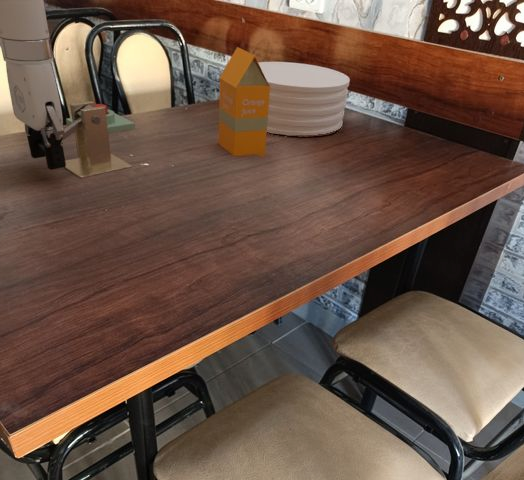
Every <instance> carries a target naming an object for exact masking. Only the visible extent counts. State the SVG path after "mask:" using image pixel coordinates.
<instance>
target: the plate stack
mask: <svg viewBox="0 0 524 480" xmlns="http://www.w3.org/2000/svg"><path fill="white" fill-rule="evenodd" d="M257 62H258V64H259V66H260V68H261V70H262V72H263V74H264V76H265V78H266V80H267V82H268V84H269V86H270V94H269V107H268V123H267V132H270V133H276V134H286V135H318V134H326V133H330V132H333V131H336V130H338V129H340V128H341V127H342V128H343V123H344V121H343V120H344V117H345V109H346V105H347V100H346V99H347V98H348V93H349V90H348V88H349V86H350V81H351V79H350V77H349V76H348V75H347V74H345V73H343V72H341V71H339V70H335V69H331V68H330V67H329V68H328V67H324V66H319V65H315V64H307V63H300V62H288V61H260V62H259V61H257ZM342 128H341V129H342Z"/></svg>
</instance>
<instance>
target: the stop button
mask: <svg viewBox="0 0 524 480" xmlns="http://www.w3.org/2000/svg"><path fill="white" fill-rule="evenodd" d="M94 104H95V107H105V110H106V115H107V114H108V112H107V109H108V106H107V105H106V104H103V103H94Z"/></svg>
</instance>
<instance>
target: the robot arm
mask: <svg viewBox="0 0 524 480" xmlns="http://www.w3.org/2000/svg"><path fill="white" fill-rule="evenodd" d="M46 14H47V13H46V8H45V1H44V0H0V50H1V53H2V58H3V61H4V62H5V69H6V78H7V84H8V90H9V96H10V100H11V106H12V111H13V115H14V117H15V118H16V119H17V120H19V121H20V122H22V123H23V124H24V131H25V132H24V133H25V134H26V137H27V143H28V147H29V151H30V156H31V158H32V159H40V158H45V161H46V162H45V163H46V166H47V169H48V170H49V171H53V170H58V169H63V168H64V167H65V166H66V162H65V161H66V157H65V151H64V146H63V145H64V140H62V139H63V134H64V129H65V128H64V126H63V124H64V118H63V111H62V105H61V100H60V95H59V90H58V86H57V82H56V77H55V73H54V70H53V67H52V63H53V62H54V56H53V50H52V44H51V37H50V31H49V27H48V26H49V25H48V20H47V15H46ZM46 124H50V126H46ZM51 131H52V133H49V134H48V132H51ZM37 140H42V141H44V142H45V145H46V146H44V151H45V152H44V151H43V150H41V149H40V148H38V147H37V146H36V142H37Z"/></svg>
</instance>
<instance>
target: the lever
mask: <svg viewBox="0 0 524 480" xmlns="http://www.w3.org/2000/svg"><path fill="white" fill-rule="evenodd" d="M88 108H94V107H92V106H90V105H87V106H86V107H85V108H83V109H88ZM77 114H78V116H79V119H77V120H76V121H75V122H73V123H72V124H71V125H69V126H68V127H67V126H66V127H65V128H64V134H63V139H62V140H63V141H64V140H66V139H67V138H68V137H70V136H71V135H73V134H74V132H75V131H77V130H78V129H79V128H81V127H82V126H83V124H82V117H81V110H80V111H79V112H78V113H77ZM36 146H37V147H38V148H40V149H41V150H43V151H44V146H46V145H45V142H44V141H42V140H37V142H36ZM44 152H45V151H44Z"/></svg>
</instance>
